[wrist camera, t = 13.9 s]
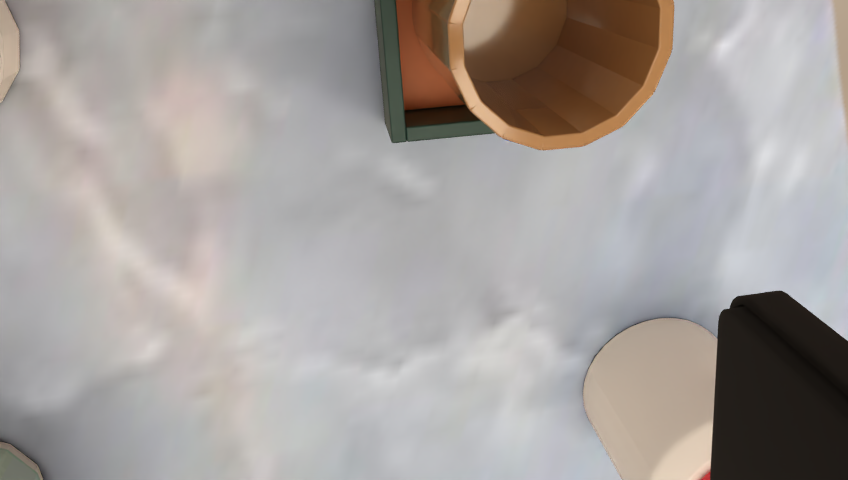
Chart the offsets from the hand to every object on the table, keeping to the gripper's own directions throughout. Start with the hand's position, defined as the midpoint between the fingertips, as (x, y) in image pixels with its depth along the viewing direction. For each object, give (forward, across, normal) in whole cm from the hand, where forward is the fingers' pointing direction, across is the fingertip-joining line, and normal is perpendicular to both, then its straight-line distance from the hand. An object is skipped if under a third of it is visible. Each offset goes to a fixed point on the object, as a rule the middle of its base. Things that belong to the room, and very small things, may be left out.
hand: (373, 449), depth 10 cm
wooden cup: (+24, -7, -2) cm, 26 cm away
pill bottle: (+25, -14, +17) cm, 34 cm away
